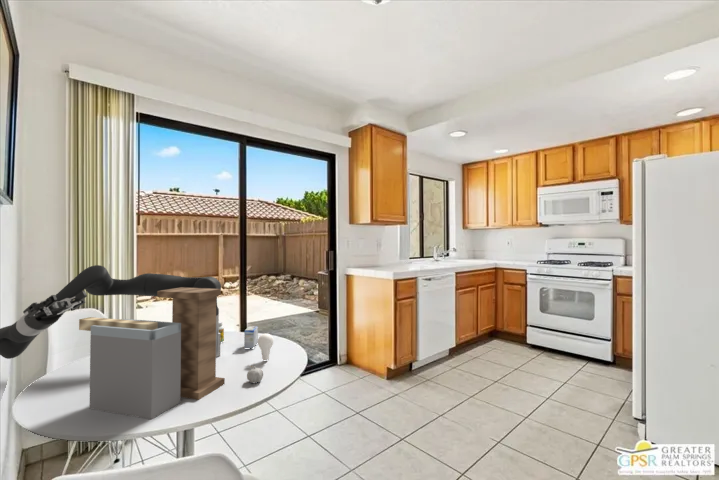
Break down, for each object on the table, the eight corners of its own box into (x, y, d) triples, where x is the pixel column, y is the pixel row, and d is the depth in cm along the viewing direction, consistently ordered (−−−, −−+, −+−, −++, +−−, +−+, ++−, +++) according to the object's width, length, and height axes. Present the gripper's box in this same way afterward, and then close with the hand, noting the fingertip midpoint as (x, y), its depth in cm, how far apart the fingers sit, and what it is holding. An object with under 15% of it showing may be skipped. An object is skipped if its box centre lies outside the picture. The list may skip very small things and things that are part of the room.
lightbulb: (276, 359, 138) (276, 332, 138) (267, 364, 132) (267, 336, 133) (263, 357, 140) (263, 331, 140) (254, 362, 134) (254, 334, 135)
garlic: (244, 380, 117) (244, 365, 117) (259, 377, 120) (259, 362, 120) (250, 386, 112) (250, 370, 112) (265, 382, 115) (266, 367, 115)
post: (151, 392, 107) (152, 291, 107) (180, 378, 118) (181, 286, 119) (198, 399, 102) (199, 293, 103) (224, 384, 114) (225, 288, 114)
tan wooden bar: (79, 329, 102) (79, 319, 102) (89, 327, 105) (90, 317, 105) (148, 336, 96) (148, 324, 96) (157, 333, 99) (157, 322, 99)
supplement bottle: (222, 340, 166) (222, 320, 167) (224, 342, 162) (225, 322, 162) (210, 341, 163) (210, 322, 164) (212, 344, 159) (213, 324, 159)
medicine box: (248, 344, 159) (248, 326, 159) (258, 344, 160) (258, 325, 160) (244, 349, 151) (244, 330, 152) (254, 349, 152) (254, 330, 152)
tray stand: (89, 408, 96) (90, 326, 97) (122, 393, 106) (123, 318, 106) (151, 419, 91) (152, 331, 91) (180, 402, 100) (181, 323, 101)
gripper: (6, 313, 103) (39, 287, 99) (58, 305, 117) (89, 282, 113) (15, 335, 102) (49, 310, 98) (66, 324, 116) (98, 302, 112)
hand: (70, 295), depth 106 cm, fingers open, 8 cm apart
